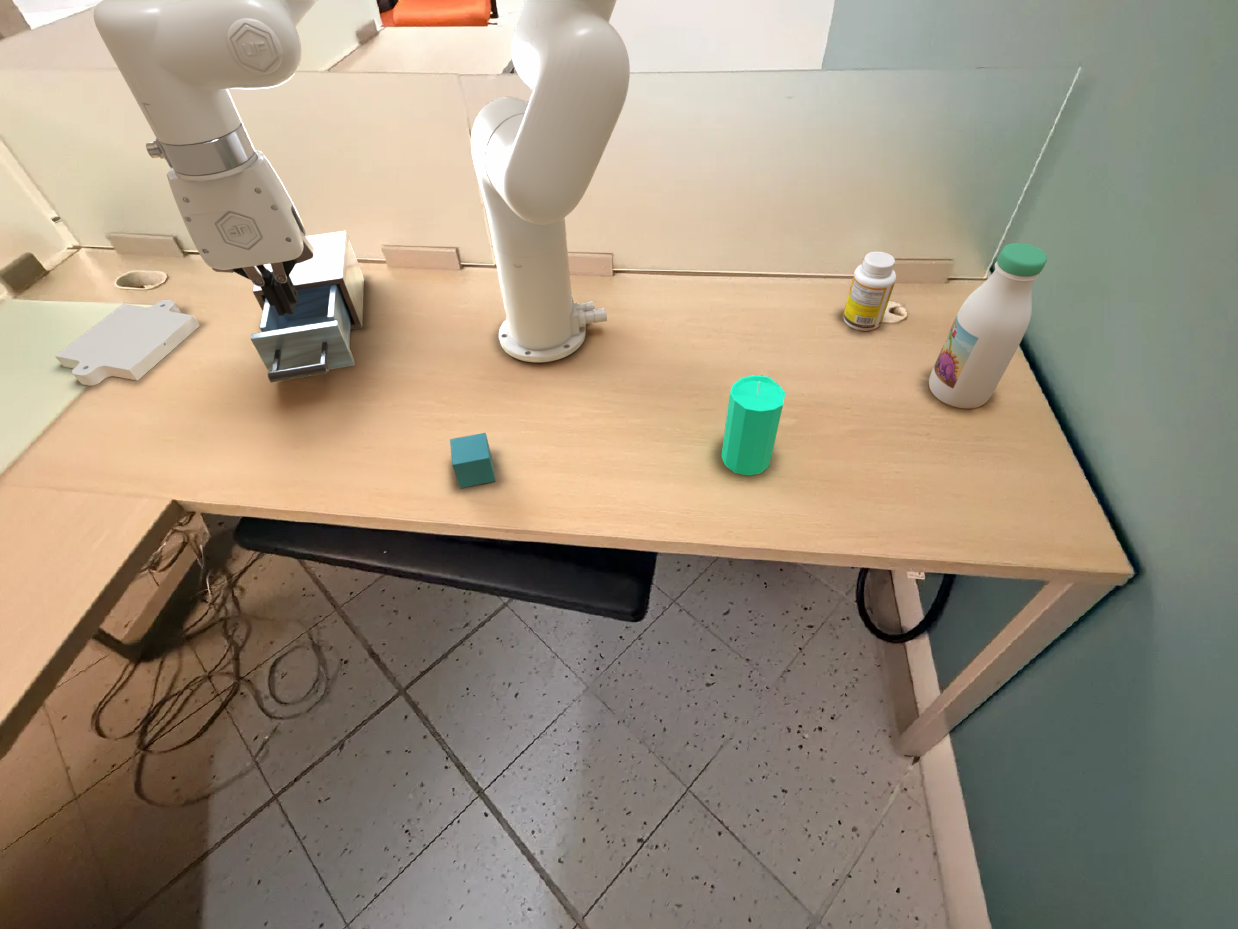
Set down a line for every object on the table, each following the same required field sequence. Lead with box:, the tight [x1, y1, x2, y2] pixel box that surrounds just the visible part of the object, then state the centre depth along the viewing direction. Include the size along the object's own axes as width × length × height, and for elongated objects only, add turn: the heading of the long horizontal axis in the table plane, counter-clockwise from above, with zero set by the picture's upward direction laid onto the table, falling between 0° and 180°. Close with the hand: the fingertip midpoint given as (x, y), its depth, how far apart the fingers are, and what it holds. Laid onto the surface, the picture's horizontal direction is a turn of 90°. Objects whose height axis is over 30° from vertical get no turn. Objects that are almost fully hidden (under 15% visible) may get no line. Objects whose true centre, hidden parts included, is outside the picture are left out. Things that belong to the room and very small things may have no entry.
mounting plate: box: [54, 299, 201, 387], centre depth 96 cm, size 18×13×2 cm
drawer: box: [250, 284, 356, 383], centre depth 89 cm, size 18×11×7 cm, turn 14°
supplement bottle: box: [842, 251, 897, 332], centre depth 92 cm, size 6×6×10 cm
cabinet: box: [252, 230, 365, 331], centre depth 98 cm, size 14×12×9 cm
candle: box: [720, 374, 786, 477], centre depth 74 cm, size 6×6×12 cm
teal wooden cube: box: [449, 432, 496, 489], centre depth 77 cm, size 4×4×4 cm
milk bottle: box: [928, 242, 1048, 409], centre depth 78 cm, size 8×8×20 cm
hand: (288, 307), depth 77 cm, fingers closed
